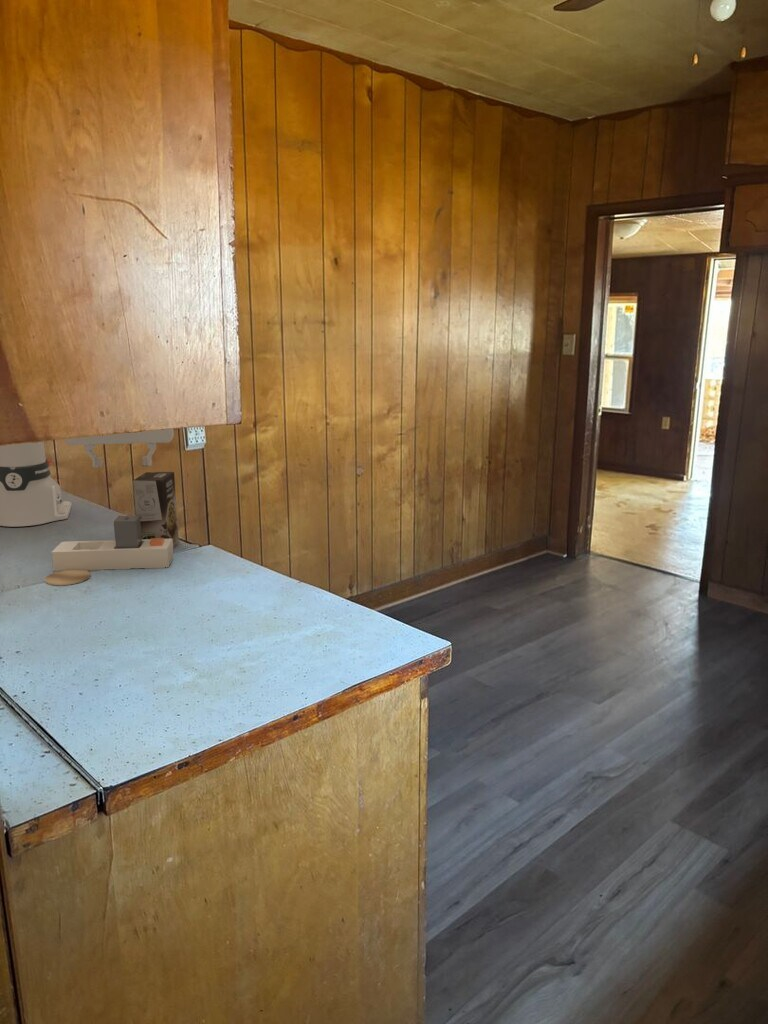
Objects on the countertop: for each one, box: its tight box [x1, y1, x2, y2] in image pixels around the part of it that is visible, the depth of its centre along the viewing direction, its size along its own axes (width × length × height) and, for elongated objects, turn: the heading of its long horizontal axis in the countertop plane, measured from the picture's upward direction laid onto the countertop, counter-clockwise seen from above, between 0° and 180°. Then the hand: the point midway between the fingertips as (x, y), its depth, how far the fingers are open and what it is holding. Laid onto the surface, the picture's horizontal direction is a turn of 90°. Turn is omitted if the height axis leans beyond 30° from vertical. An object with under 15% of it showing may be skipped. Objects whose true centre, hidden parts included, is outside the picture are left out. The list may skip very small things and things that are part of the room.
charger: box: [113, 515, 142, 549], centre depth 151 cm, size 4×4×7 cm
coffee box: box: [132, 471, 180, 549], centre depth 160 cm, size 9×6×16 cm
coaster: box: [44, 570, 91, 587], centre depth 143 cm, size 8×8×1 cm
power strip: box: [51, 538, 175, 573], centre depth 151 cm, size 22×7×5 cm, turn 97°
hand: (122, 466), depth 147 cm, fingers open, 8 cm apart
